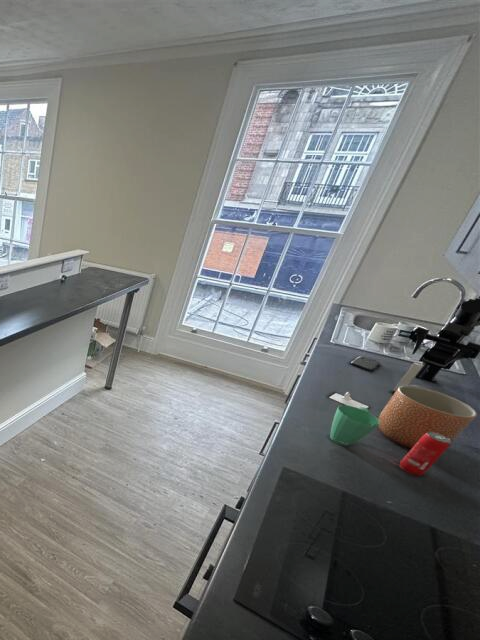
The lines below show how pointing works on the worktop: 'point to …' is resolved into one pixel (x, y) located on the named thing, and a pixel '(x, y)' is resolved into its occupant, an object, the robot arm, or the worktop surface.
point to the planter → (423, 415)
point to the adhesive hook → (347, 400)
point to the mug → (352, 424)
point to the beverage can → (424, 453)
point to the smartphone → (365, 363)
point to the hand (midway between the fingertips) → (428, 358)
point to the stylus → (409, 376)
